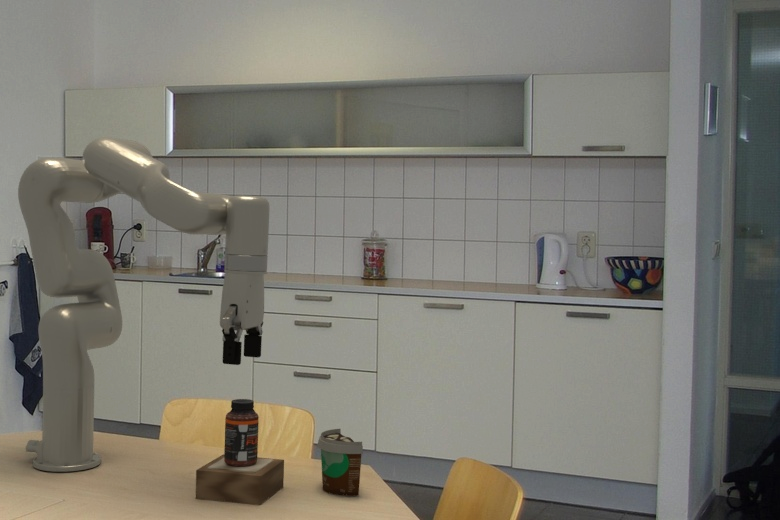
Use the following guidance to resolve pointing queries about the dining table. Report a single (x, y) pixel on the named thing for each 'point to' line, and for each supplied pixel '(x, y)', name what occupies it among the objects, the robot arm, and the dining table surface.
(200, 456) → the dining table surface
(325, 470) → the food container
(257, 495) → the walnut base
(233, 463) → the supplement bottle
